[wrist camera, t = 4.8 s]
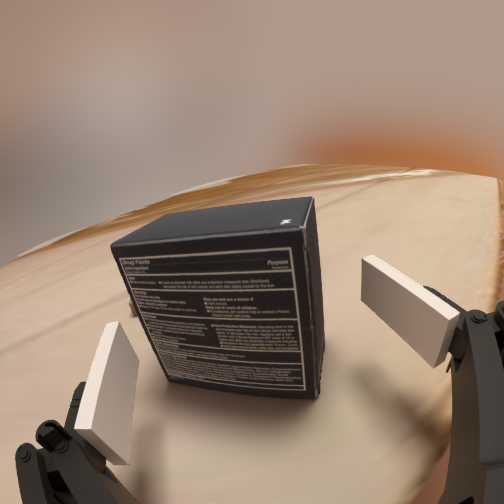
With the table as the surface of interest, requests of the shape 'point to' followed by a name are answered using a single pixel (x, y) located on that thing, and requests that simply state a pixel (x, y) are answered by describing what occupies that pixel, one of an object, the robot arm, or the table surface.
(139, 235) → the small box
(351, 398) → the table surface
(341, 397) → the table surface
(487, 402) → the robot arm
